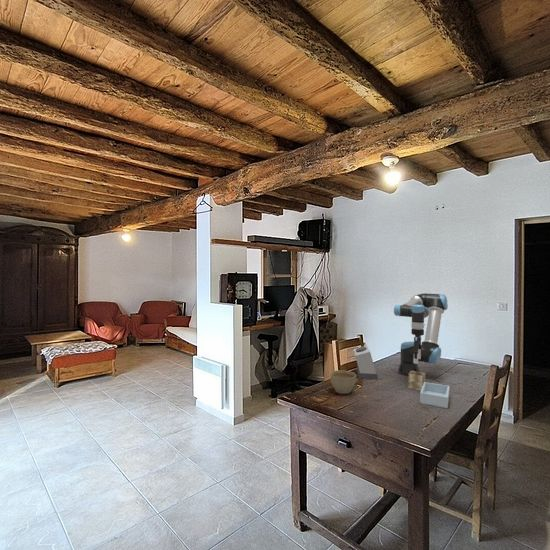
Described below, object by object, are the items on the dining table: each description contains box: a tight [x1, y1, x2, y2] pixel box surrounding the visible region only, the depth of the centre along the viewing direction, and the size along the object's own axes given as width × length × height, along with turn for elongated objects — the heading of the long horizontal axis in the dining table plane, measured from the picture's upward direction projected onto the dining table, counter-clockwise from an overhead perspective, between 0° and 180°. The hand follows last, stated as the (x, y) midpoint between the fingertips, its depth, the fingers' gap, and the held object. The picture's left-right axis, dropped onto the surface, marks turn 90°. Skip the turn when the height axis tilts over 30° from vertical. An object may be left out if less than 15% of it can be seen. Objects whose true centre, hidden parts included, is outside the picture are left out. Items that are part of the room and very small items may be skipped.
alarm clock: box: [353, 345, 379, 380], centre depth 243 cm, size 20×16×20 cm
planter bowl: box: [329, 370, 357, 395], centre depth 208 cm, size 16×16×11 cm
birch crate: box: [407, 371, 426, 391], centre depth 217 cm, size 9×9×9 cm
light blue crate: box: [419, 381, 450, 409], centre depth 196 cm, size 14×22×6 cm, turn 150°
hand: (417, 361), depth 217 cm, fingers open, 13 cm apart
